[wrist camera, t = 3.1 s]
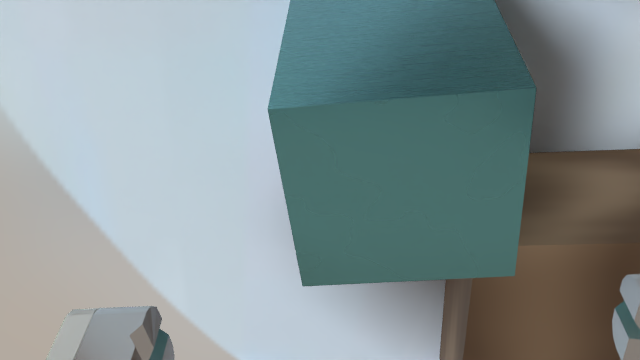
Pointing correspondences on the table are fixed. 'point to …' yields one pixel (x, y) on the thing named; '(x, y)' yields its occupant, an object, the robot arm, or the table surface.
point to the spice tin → (401, 139)
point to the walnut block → (555, 266)
